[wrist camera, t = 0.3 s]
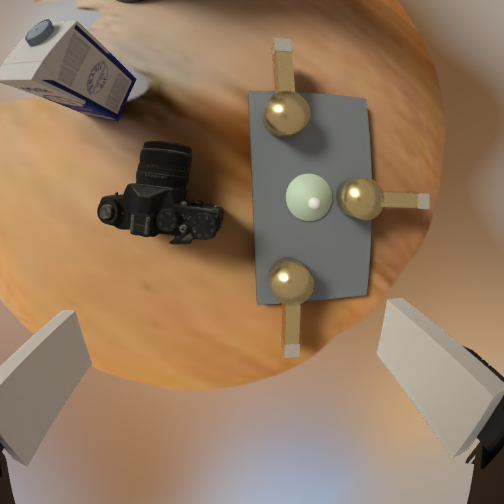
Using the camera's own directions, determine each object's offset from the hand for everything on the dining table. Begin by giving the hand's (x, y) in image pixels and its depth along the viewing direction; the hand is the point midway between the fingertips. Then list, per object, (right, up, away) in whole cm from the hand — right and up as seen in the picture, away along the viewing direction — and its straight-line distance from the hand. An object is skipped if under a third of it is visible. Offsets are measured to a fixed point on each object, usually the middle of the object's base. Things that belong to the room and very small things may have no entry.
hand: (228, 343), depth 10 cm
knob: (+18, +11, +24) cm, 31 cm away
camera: (-9, +12, +25) cm, 29 cm away
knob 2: (+6, -3, +26) cm, 27 cm away
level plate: (+9, +11, +25) cm, 29 cm away
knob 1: (+5, +23, +20) cm, 31 cm away
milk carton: (-20, +26, +20) cm, 38 cm away
